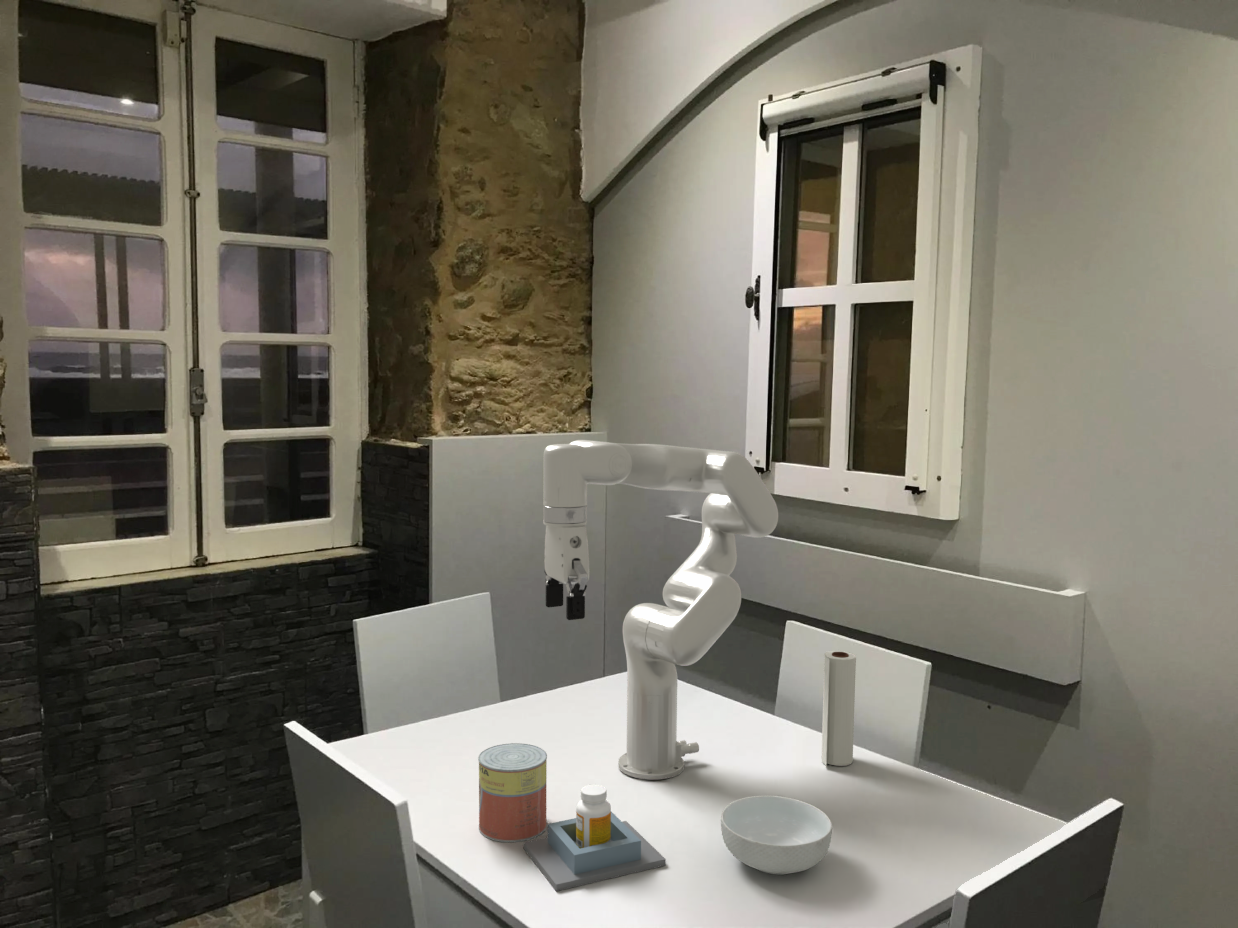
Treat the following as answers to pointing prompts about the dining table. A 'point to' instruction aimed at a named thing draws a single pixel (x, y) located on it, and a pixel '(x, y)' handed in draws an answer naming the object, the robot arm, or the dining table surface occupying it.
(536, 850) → the caddy
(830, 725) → the paper towel roll
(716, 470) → the robot arm
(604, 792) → the supplement bottle
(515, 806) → the canned food
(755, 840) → the cereal bowl
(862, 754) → the dining table surface
